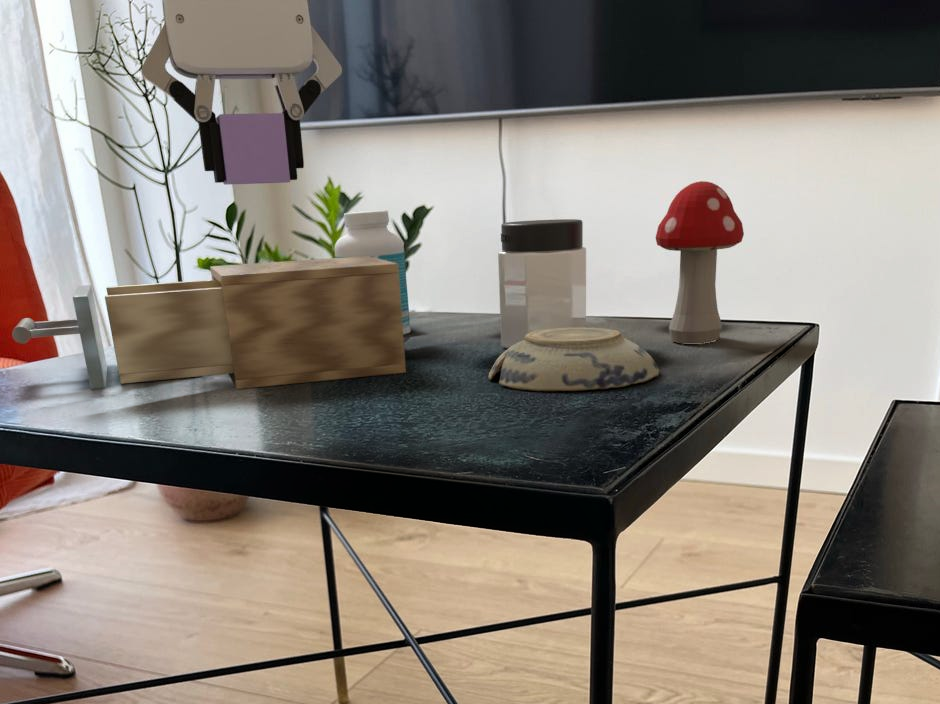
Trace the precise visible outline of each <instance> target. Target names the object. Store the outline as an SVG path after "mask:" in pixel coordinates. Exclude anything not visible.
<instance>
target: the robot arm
mask: <svg viewBox="0 0 940 704" xmlns="http://www.w3.org/2000/svg"><path fill="white" fill-rule="evenodd" d="M161 1H162V2H161V4H162V14H163V23H164V24H163V26H162V27H161V29H160V31H159V33H158V35H157V37H156V39H155V40H154V43H153V44H152V46H151V48H150V50H149V52H148V54H147V56H146V58H145V60H144V61H143V63H142V66H141V69H140V71H141V73H140V74H141V77H142V78H143V79H145V80H146V81H147V82H148V83H150V84H151V85H153V86H154V87H155V88H157V89H158V90H159V91H161V92H162V93H164V94H166V95H167V96H168V97H170V98H171V99H172V100H173V101H174V102H175V103H176V104H177V105H178V106H179V107H180V108H182V110H184V112H185V113H186V114H188V115H189V116H190V117H191V118H192V119H193V120H194V121H195V122H196V123H197V125H198V131H199V139H200V147H201V155H202V161H203V162H202V163H203V168H204V171H205V172H213V178H214V184H215V183H216V184H218V183H223V182H224V181H225V180H226V172H225V164H224V156H223V148H222V140H221V132H220V125H219V124H217V122H216V117H217V115H216V113H215V112H214V111H213V103H214V95H215V94H214V93H215V85H216V80H271V81H272V85H273V88H274V90H275V94H276V96H277V100H278V103H279V106H280V110H281V113H283V114H284V123H285V133H286V143H287V154H288V164H289V174H290V181H297V180H298V169H304V167H305V161H304V160H305V159H304V149H303V138H302V129H301V120H302V119H303V117H304V115H305V114H306V113H307V112H308V110H309V109H310V108H311V107H312V105H313V104H314V103H315V101H316V100H317V99H318V97H319V96H320V95H321V94H322V93H323V92H324V91H325V90H327V89H328V87H330V86H331V85H332V84H333V83H334V82H335V81H336V80H337V79H338V78H339V77H340V76H341V75H342V73H343V67H342V65H341V64H340V62H339V61H338V59H337V58H336V57H335V56H334V54H333V52H332V51H331V50H330V48H329V47H328V46H327V44H326V43H325V41H324V40H323V39H322V38H321V36H320V35H319V33H318V32H317V30H316V29H315V27H314V26H313V25H312V24H311V17H310V10H309V4H308V3H309V2H308V0H161ZM168 61H170V64H171V67H172V68H173V70H174V71H175V73H177V74H178V75H181V76H183V77H185V78H188V79H192V80H195V86H194V92H193V91H192V90H191V89H190V88H189V87H188V86H187V85H185V84H184V82H182V81H180V80H178V79H177V78H176V77H175V76H173V75H172V74H171V73H169V71H168V70H167V68H166V65H167V63H168ZM312 62H314V64H315V66H316V71H315V73H314V74H313V75H312V76H311V77H310V78H308V80H306V81H305V82H304V83H303V85H302V86H300V88H299V89H298V87H297V84H296V80H295V78H294V77H295V76H296V77H297V76H298V75H300V74H301V73H303V71H305V70H307V69H308V68H309V67H310V66H311V64H312Z"/></svg>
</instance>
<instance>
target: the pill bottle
mask: <svg viewBox="0 0 940 704" xmlns="http://www.w3.org/2000/svg"><path fill="white" fill-rule="evenodd" d="M343 220H344V221H343V223H344V225H345V228H346V229H347V232H346V234H345V235H343V236H341V237H339V238H338V239H337V241H336V242H335V244H334V258H344V257H359V256H370V257H374V258H378V259H382V260H386V261H390V262H394V263H397V264H398V268H399V282H400V296H401V310H402V324H403V335H406V334H409V333H410V332H411V319H410V318H411V317H410V307H409V295H408V283H407V272H406V271H407V270H406V258H405V257H406V256H405V248H404V247H405V245H404V242H403V240H402V239H401V237H400V236H399V235H398V234H396V233H394V232H391V231H390V230H389V229H388V225H389V223H390V216H389V211H388V210H386V209H385V210H365V211H353V212H345V213H343ZM403 338H404V343H406V342H408V341H409V339H410V338H411V336H406V337H403Z"/></svg>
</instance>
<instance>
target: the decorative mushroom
mask: <svg viewBox="0 0 940 704" xmlns="http://www.w3.org/2000/svg"><path fill="white" fill-rule="evenodd" d="M744 235H745V233H744V226H743V222H742V220H741V218H740V217H739V215H738V214H737V212H736V211H735V209H734V205H733V203H732V201H731V198H730V197H729V195H728V193H727V192H726V191H725V190H724V189H723V188H722V187H721V186H719V185H718V184H716V183H713V182H710V181H705V180H704V181H703V180H702V181H695V182H692V183H689V184H688V185H686V186H685V187H683V188H682V189H681V190H679V192H678V193H677V194H676V195H675V196H674V197H673V199H672V201H671V202H670V204H669V206H668V209H667V212H666V214H665V215H664V217H663V218H662V220H661V221H660V223H659V224H658V226H657V230H656V233H655V241H656V245H657V246H658V247H661V248H662V249H665V250H667V251H677V252H680V253H679V255H680V257H679V281H678V282H679V283H678V291H677V297H676V303H675V308H674V311H673V315H672V317H671V320H670V323H669V326H668V331H669V336H670V340H671V342H672V341H673V342H677V343H704V342H705V343H706V342H711V341H714V340H717V339H718V340H719V339H720V335H721V333H722V329H723V323H722V321H721V317H720V313H719V309H718V301H717V289H716V282H717V281H716V280H717V263H718V262H717V260H718V250H724V249H730V248H732V247H735V246H736V245H738V244H740V243H742V241H743V238H744ZM673 342H672V343H673ZM677 343H676V344H677Z"/></svg>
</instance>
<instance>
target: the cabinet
mask: <svg viewBox="0 0 940 704" xmlns="http://www.w3.org/2000/svg"><path fill="white" fill-rule="evenodd" d="M209 269H210V274H211V275H210V276H211V280H213V279H216V280H217V281H218V282H220V283H221V284H222V292H223V299H224V306H225V313H226V320H227V327H228V334H229V341H230V348H231V355H232V362H233V370H234V373H231V374H228V376H229V378H230V379H231V382H232V383H233V385H234V386H235V388H236V390H241V389H242V390H243V389H253V388H263V387H274V386H282V385H283V386H285V385H294V384H303V383H314V382H325V381H326V382H327V381H337V380H345V379H356V378H364V377H366V378H367V377H376V376H377V377H378V376H387V375H394V374H395V375H396V374H406V373H407V367H406V366H407V365H406V353H405V342H404V338H405V337H404V334H403V324H402V310H401V296H400V282H399V268H398V264H397V263H394V262H390V261H386V260H382V259H378V258H374V257H370V256H359V257H344V258H335V257H331V258H330V257H329V258H317V259H316V258H315V259H301V260H285V261H271V262H269V261H268V262H255V263H241V264H225V265H210V266H209Z"/></svg>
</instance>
